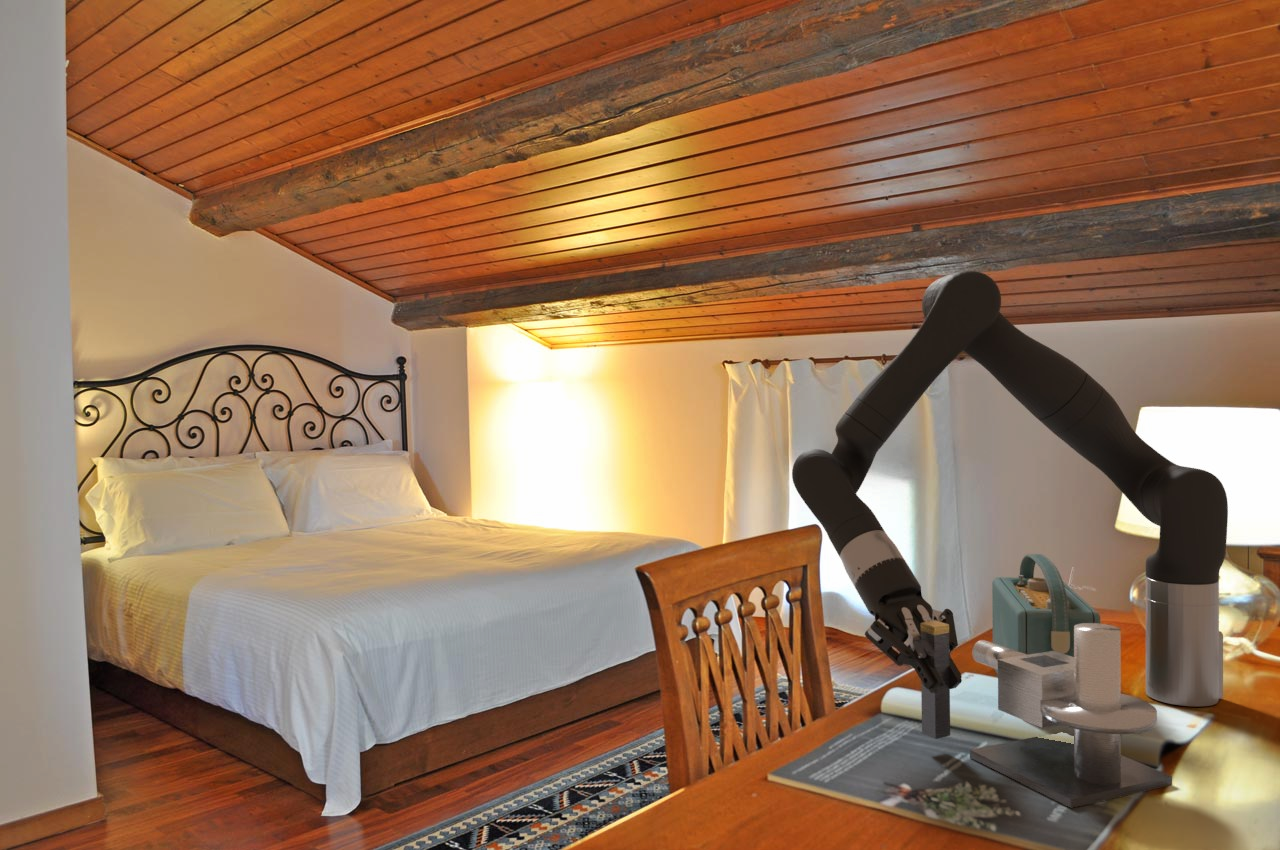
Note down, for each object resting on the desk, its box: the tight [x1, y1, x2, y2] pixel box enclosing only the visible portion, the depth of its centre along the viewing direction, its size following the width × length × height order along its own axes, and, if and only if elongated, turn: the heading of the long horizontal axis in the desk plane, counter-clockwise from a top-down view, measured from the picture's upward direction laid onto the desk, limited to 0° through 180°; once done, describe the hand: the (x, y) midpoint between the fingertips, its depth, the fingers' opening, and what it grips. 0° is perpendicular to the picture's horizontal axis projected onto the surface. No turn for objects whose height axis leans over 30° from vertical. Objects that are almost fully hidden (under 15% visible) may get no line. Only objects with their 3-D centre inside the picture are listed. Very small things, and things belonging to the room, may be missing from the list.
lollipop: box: [1067, 567, 1097, 592], centre depth 181 cm, size 6×10×12 cm, turn 44°
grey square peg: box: [920, 621, 951, 740], centre depth 124 cm, size 2×2×14 cm
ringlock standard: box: [969, 623, 1173, 809], centre depth 119 cm, size 15×25×18 cm, turn 22°
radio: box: [991, 553, 1101, 676], centre depth 146 cm, size 26×11×20 cm, turn 168°
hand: (947, 686), depth 122 cm, fingers closed on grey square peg, 2 cm apart
